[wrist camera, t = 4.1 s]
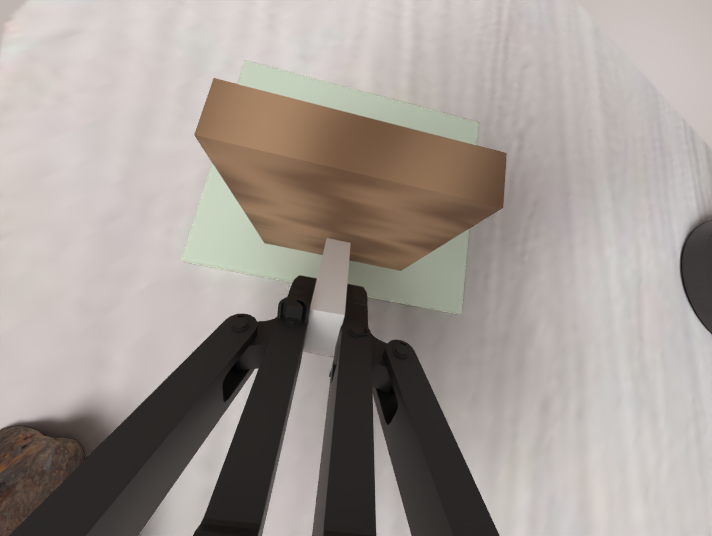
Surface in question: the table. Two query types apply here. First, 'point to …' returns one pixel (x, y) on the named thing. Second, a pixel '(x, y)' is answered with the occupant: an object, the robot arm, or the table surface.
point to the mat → (254, 257)
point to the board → (345, 176)
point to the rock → (31, 471)
